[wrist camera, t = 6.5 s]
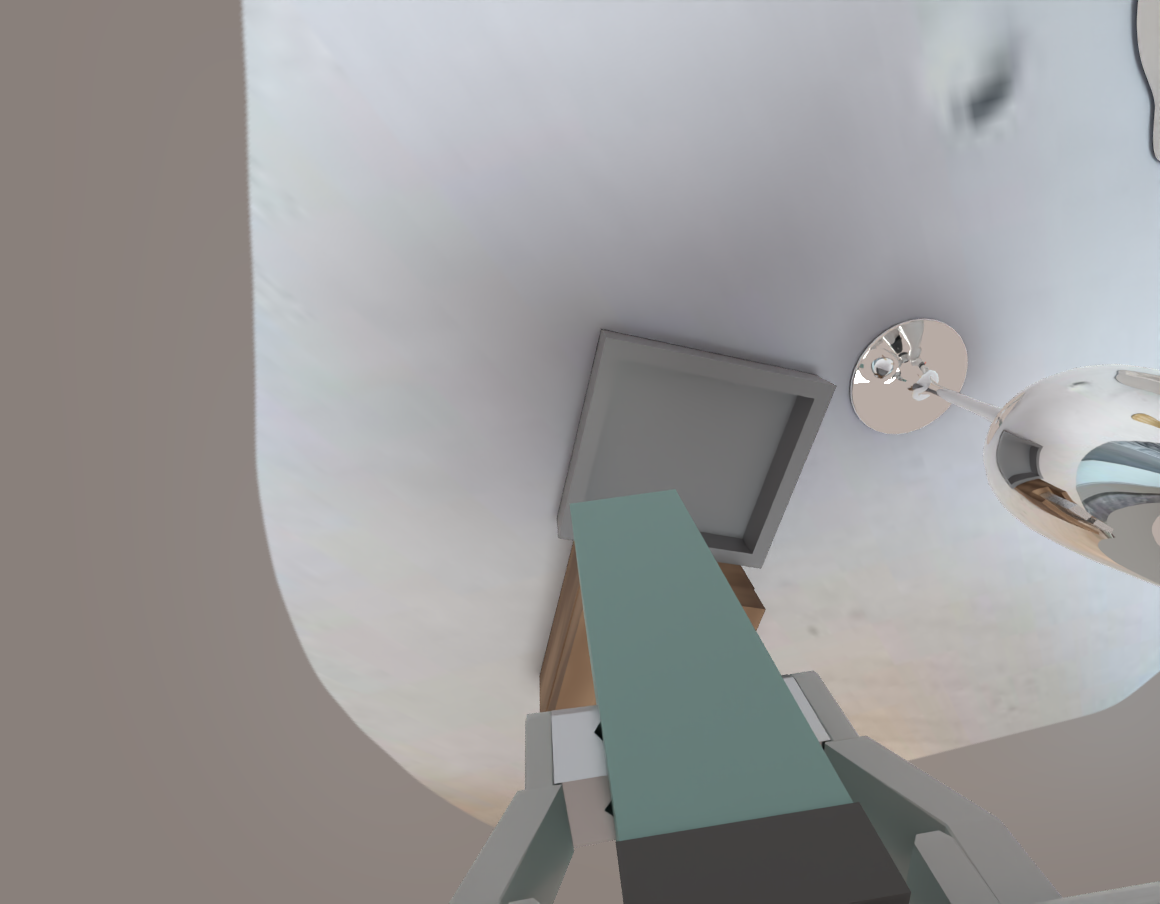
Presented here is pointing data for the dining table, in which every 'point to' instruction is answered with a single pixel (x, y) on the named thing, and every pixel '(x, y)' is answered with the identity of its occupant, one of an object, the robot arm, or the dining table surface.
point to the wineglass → (1038, 440)
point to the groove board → (568, 646)
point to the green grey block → (707, 730)
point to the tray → (695, 438)
